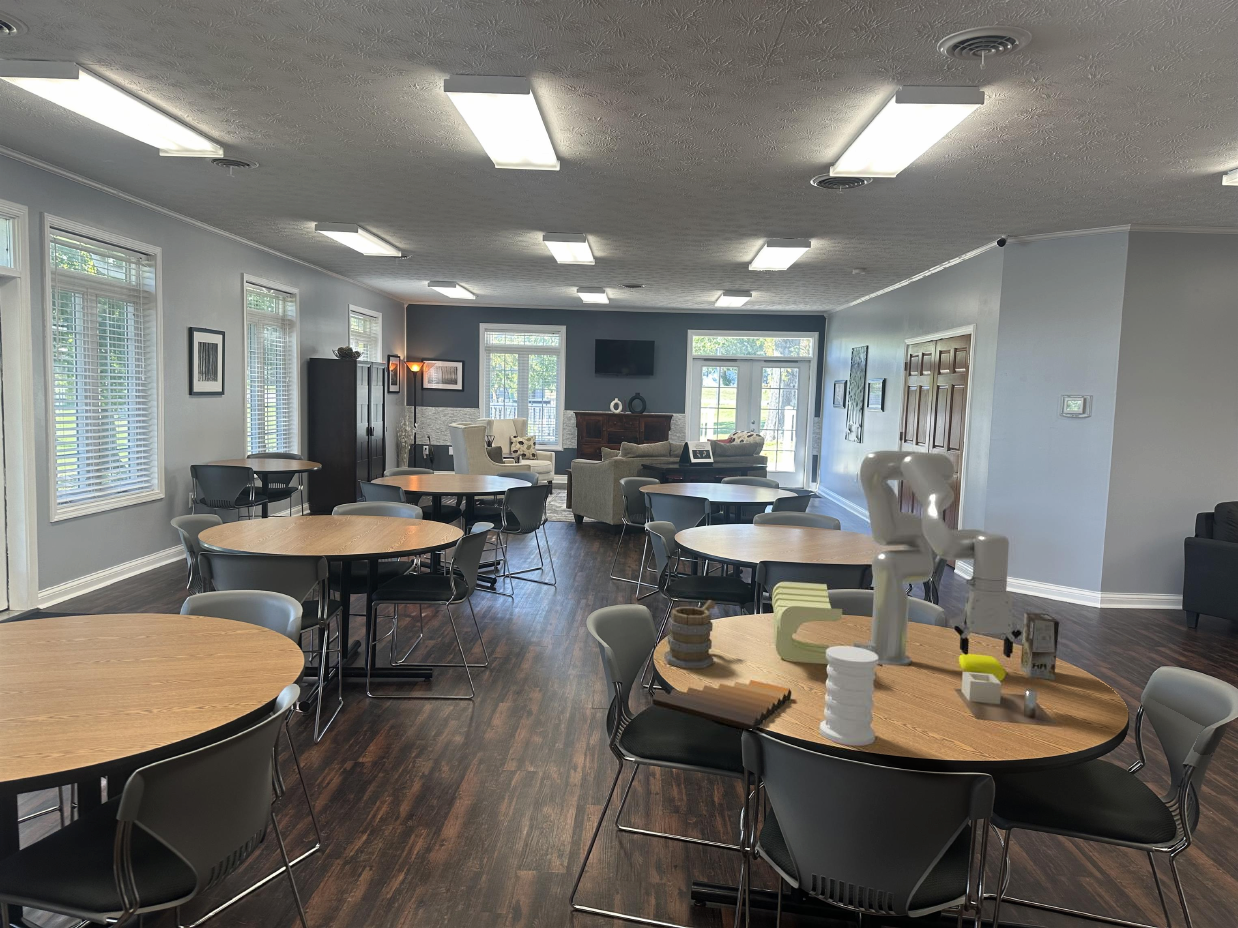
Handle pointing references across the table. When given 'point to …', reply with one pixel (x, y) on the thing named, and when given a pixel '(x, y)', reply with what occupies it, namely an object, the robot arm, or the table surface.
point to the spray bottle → (982, 665)
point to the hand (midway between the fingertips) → (985, 654)
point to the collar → (981, 687)
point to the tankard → (690, 637)
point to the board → (1007, 710)
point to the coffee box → (1039, 645)
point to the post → (1030, 703)
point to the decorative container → (849, 696)
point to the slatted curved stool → (800, 619)
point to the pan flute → (728, 702)
